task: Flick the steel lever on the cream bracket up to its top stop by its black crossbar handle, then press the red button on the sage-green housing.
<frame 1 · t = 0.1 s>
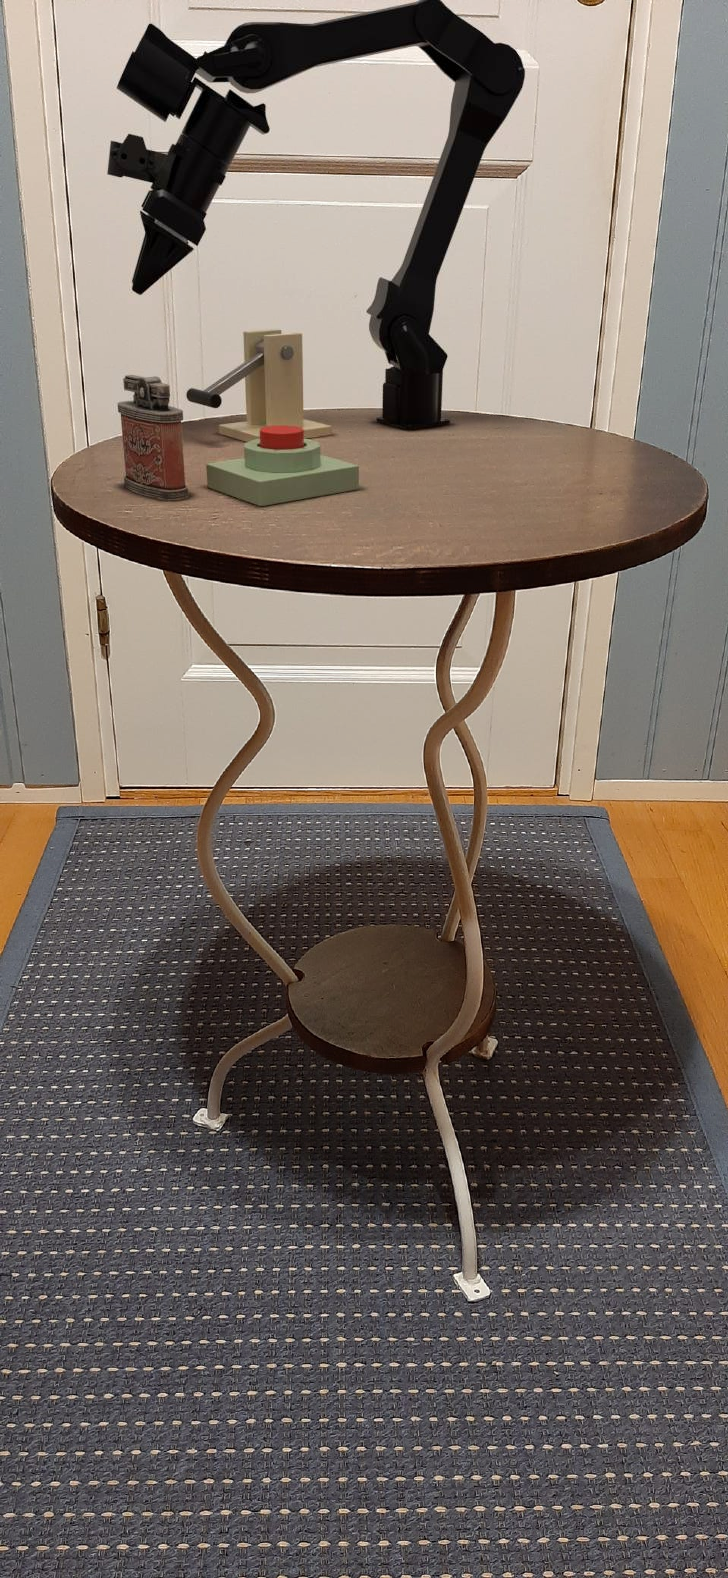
hand: (135, 288, 125), 15 cm above the table, tool tilted 30°, fingers open, 9 cm apart
button box: (283, 488, 107), on the table
lever: (241, 372, 125), point 7 cm above the table, hinge at -25.0°
lighter: (156, 493, 106), on the table
bracket: (275, 434, 130), on the table
button: (281, 439, 105), point 4 cm above the table, slide at 0.1 cm
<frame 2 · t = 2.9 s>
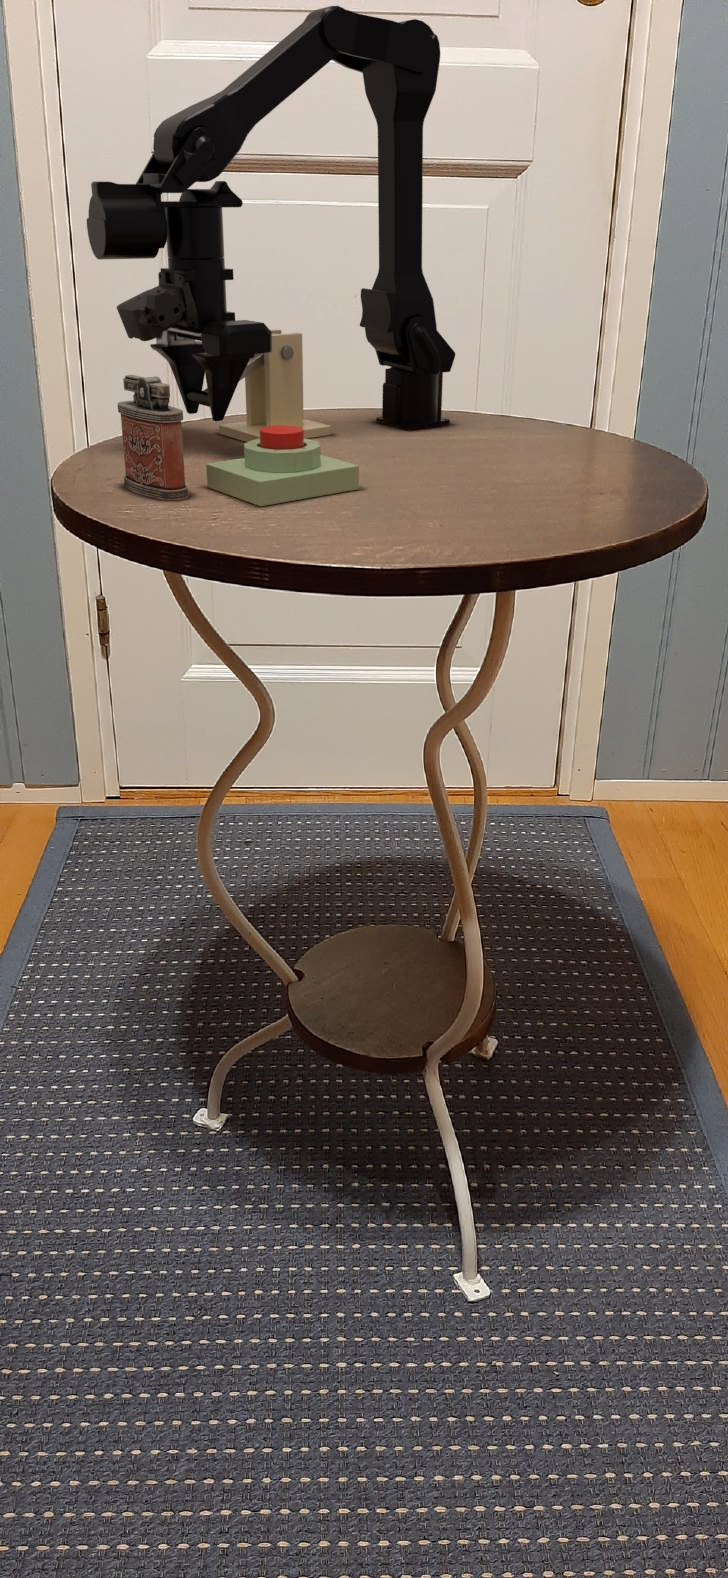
hand: (204, 416, 124), 3 cm above the table, tool pointing down, fingers closed on lever, 5 cm apart
lever: (241, 372, 125), point 7 cm above the table, hinge at -25.0°, touching gripper
everything else where it was.
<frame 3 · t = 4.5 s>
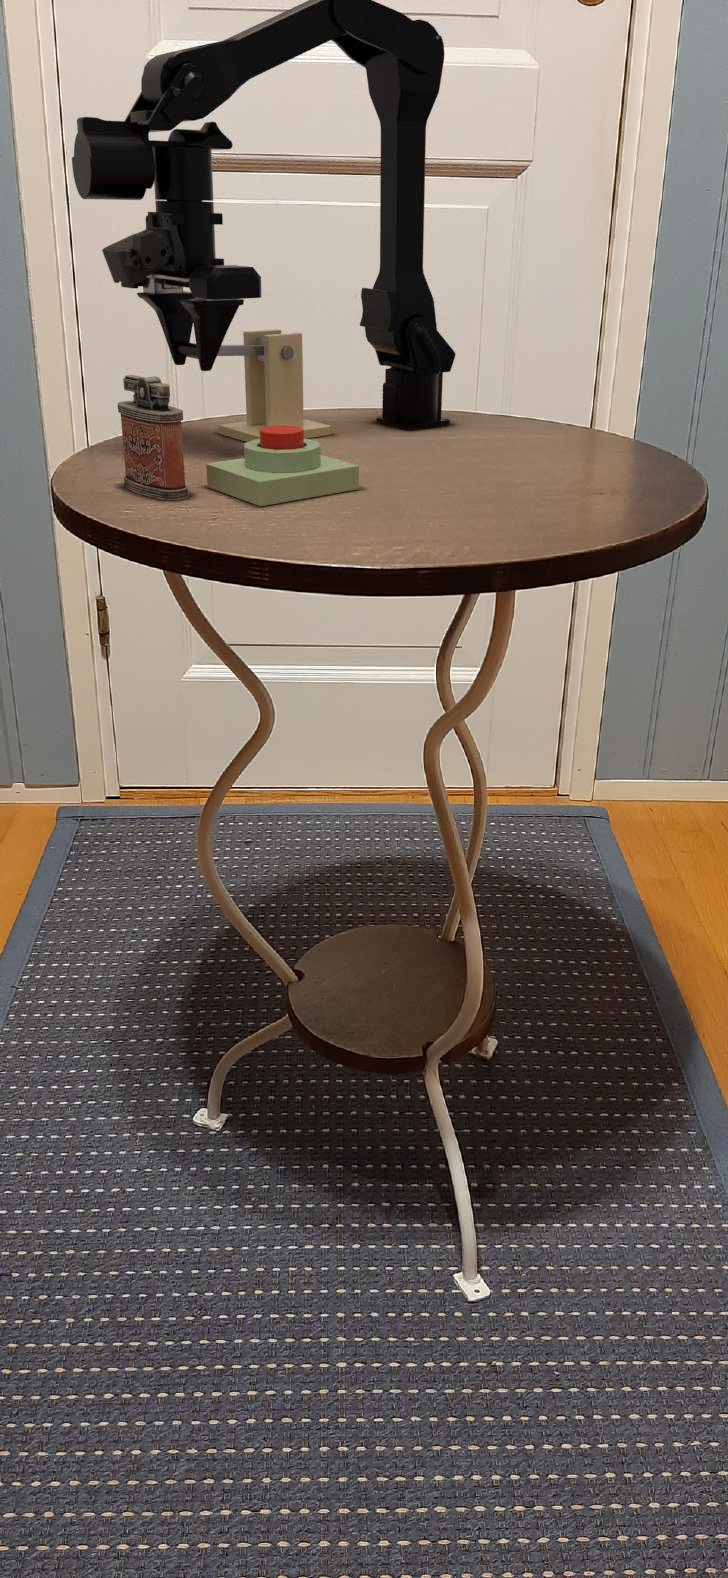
hand: (192, 367, 121), 8 cm above the table, tool pointing down, fingers closed on lever, 5 cm apart
lever: (236, 350, 123), point 9 cm above the table, hinge at 3.5°, touching gripper
everything else where it was.
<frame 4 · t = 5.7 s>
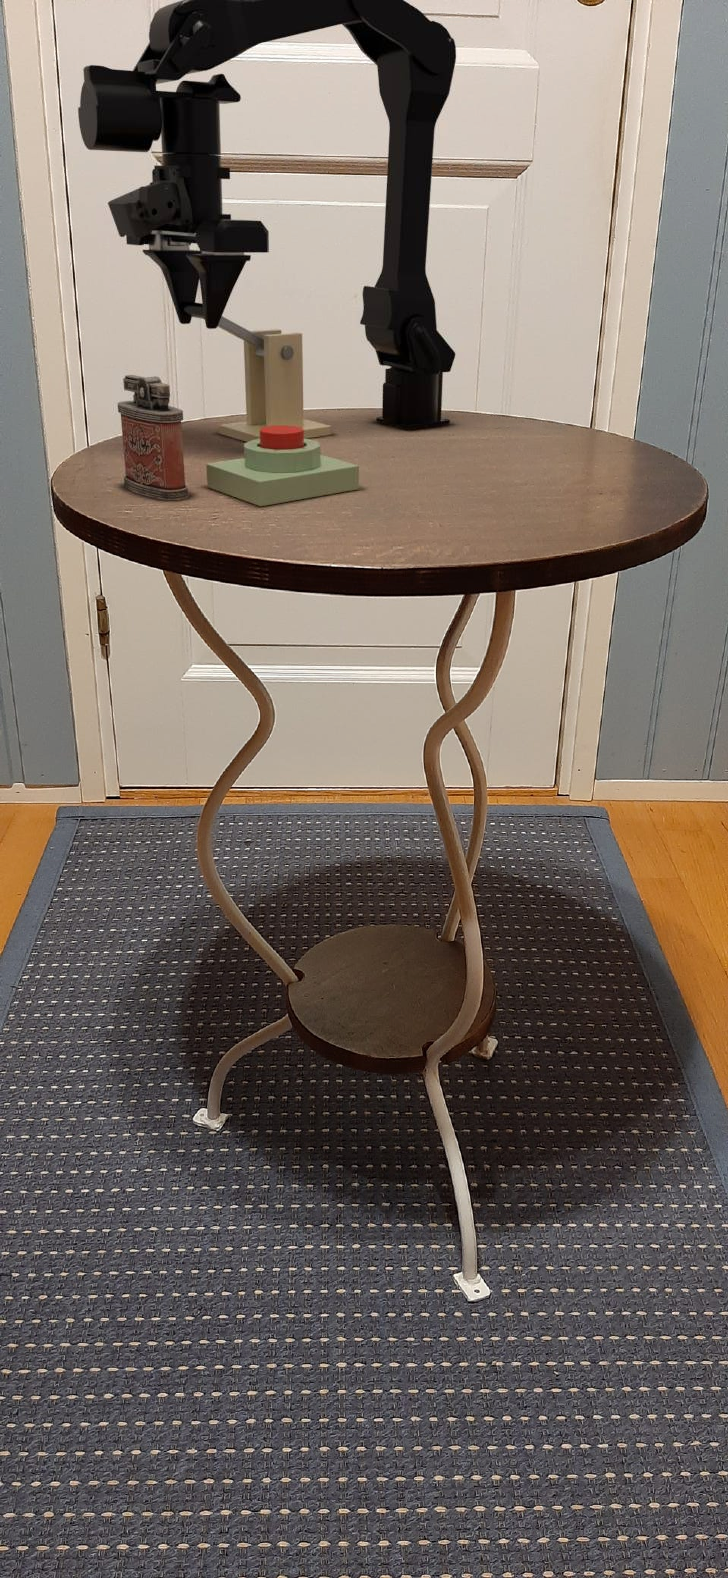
hand: (198, 326, 119), 12 cm above the table, tool pointing down, fingers closed on lever, 5 cm apart
lever: (240, 332, 123), point 11 cm above the table, hinge at 26.4°, touching gripper
everything else where it was.
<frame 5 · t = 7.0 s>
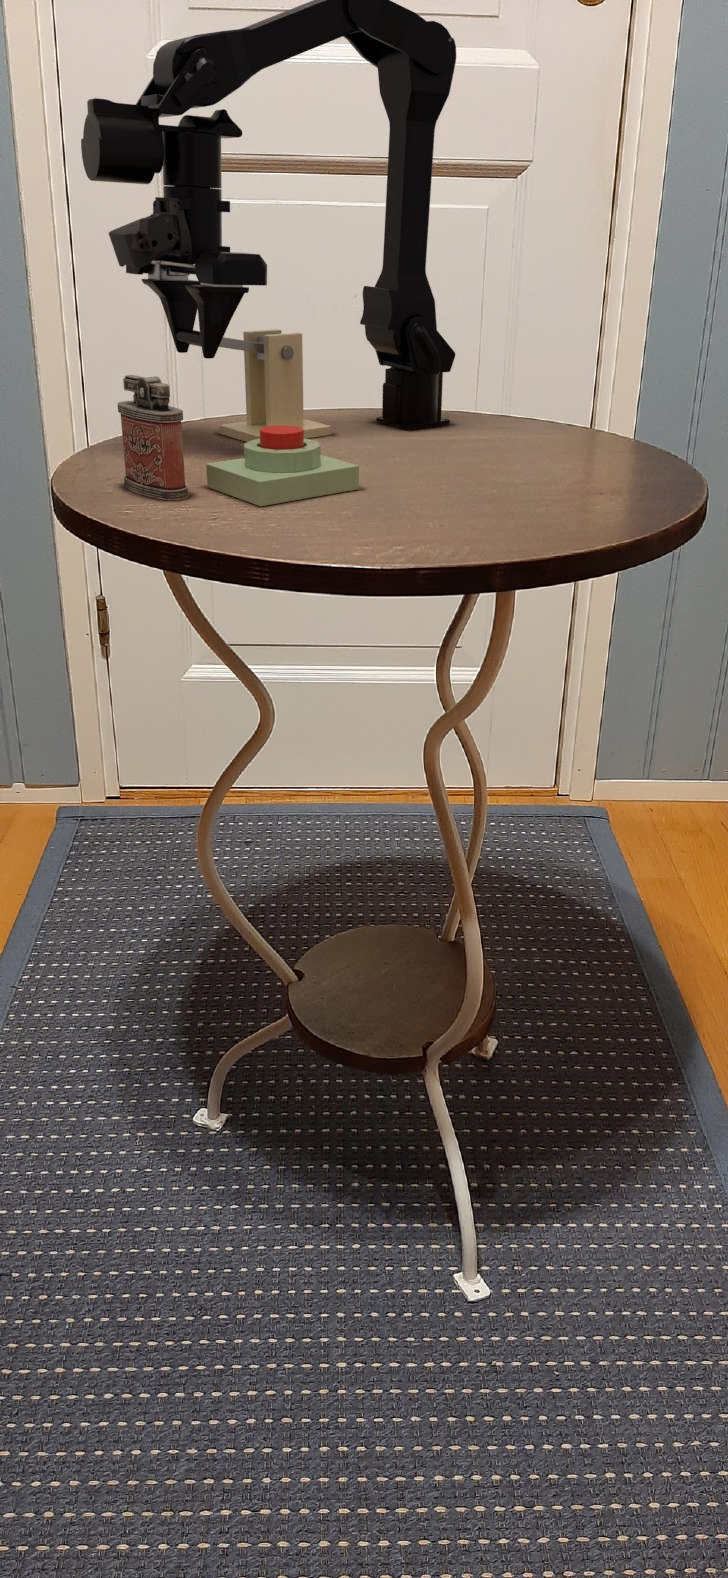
hand: (195, 355, 121), 9 cm above the table, tool pointing down, fingers closed on lever, 5 cm apart
lever: (237, 344, 123), point 10 cm above the table, hinge at 10.7°, touching gripper
everything else where it was.
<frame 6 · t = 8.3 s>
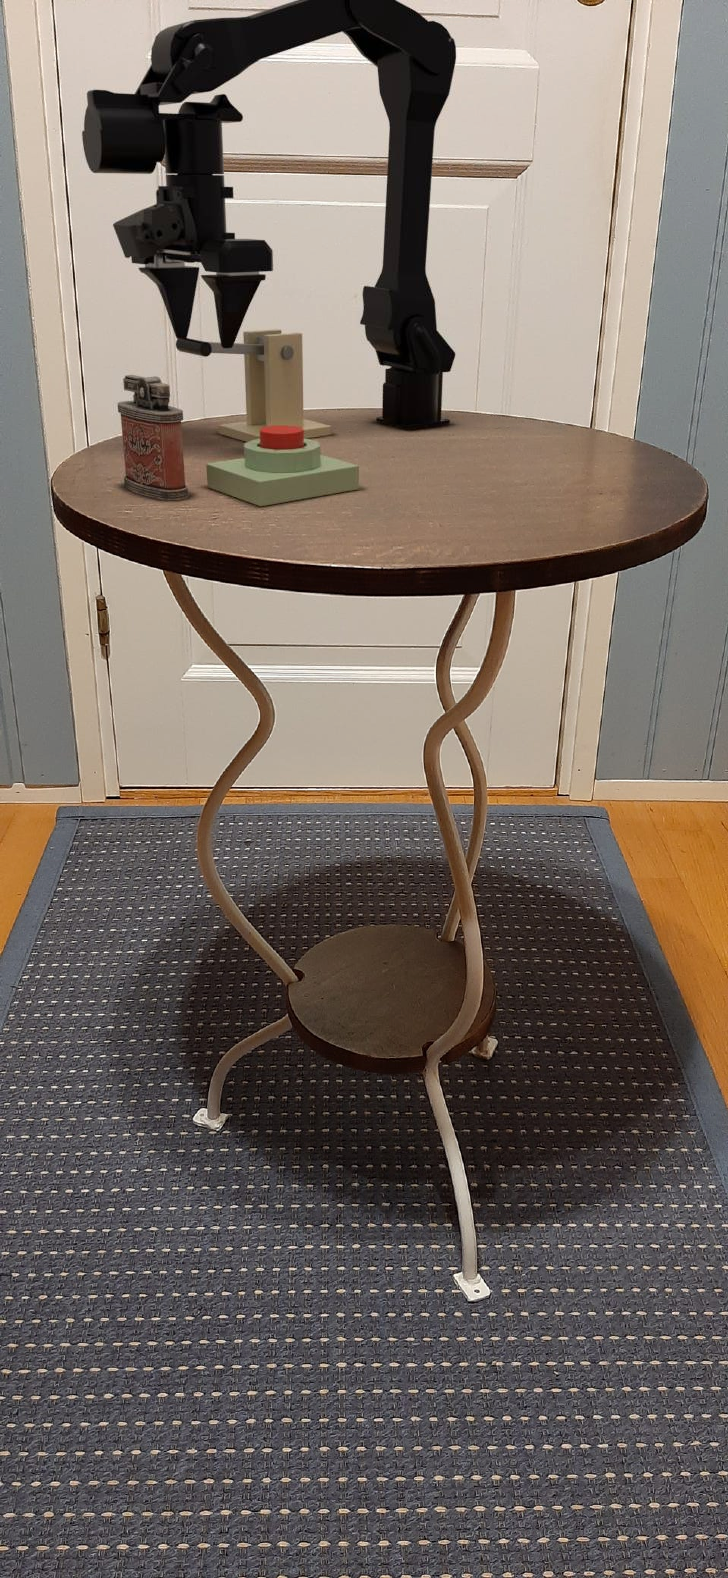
hand: (203, 343, 121), 10 cm above the table, tool pointing down, fingers open, 9 cm apart
lever: (236, 348, 123), point 9 cm above the table, hinge at 5.7°
everything else where it was.
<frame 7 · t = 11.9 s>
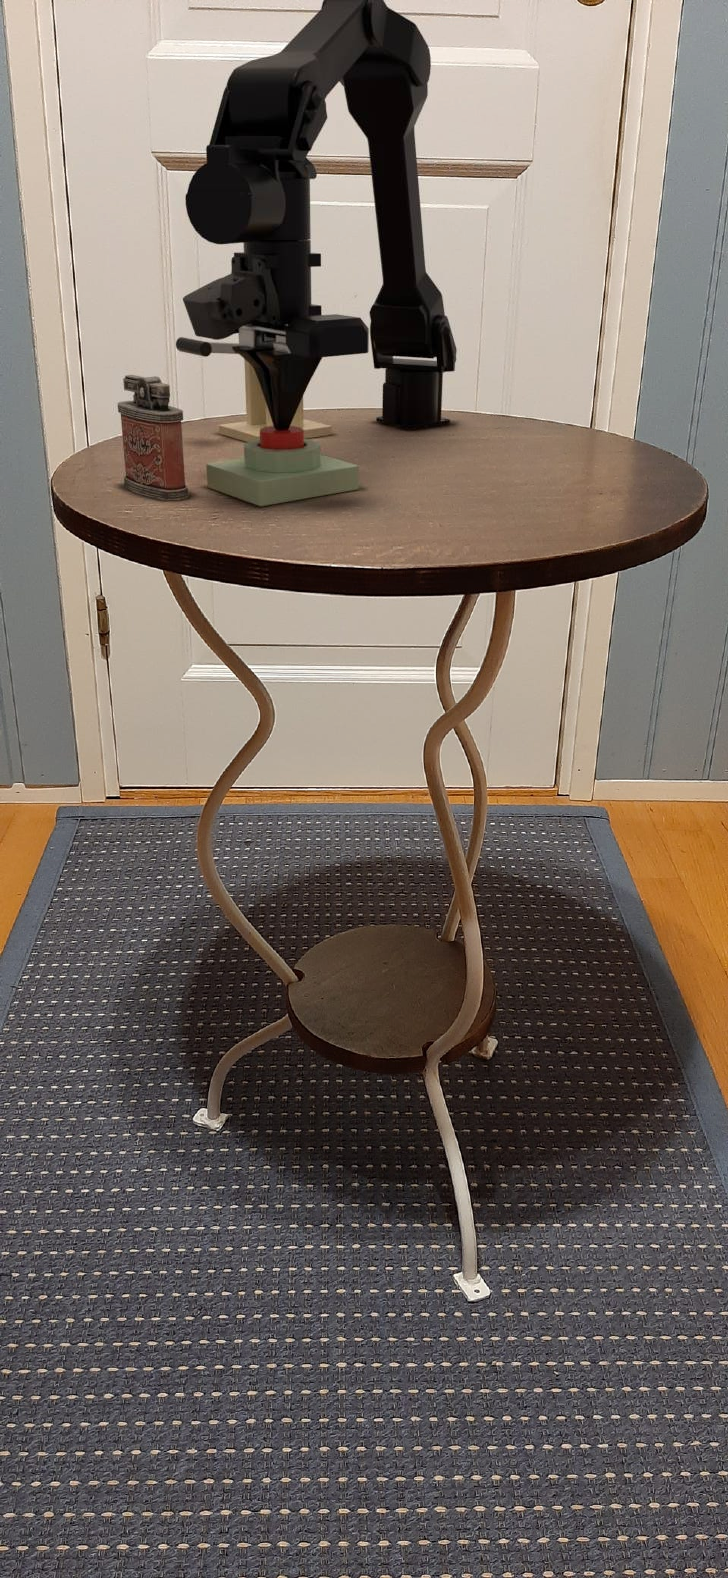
hand: (281, 429, 105), 5 cm above the table, tool pointing down, fingers closed, pressing on button
button: (281, 439, 105), point 4 cm above the table, slide at 0.1 cm, touching gripper
everything else where it was.
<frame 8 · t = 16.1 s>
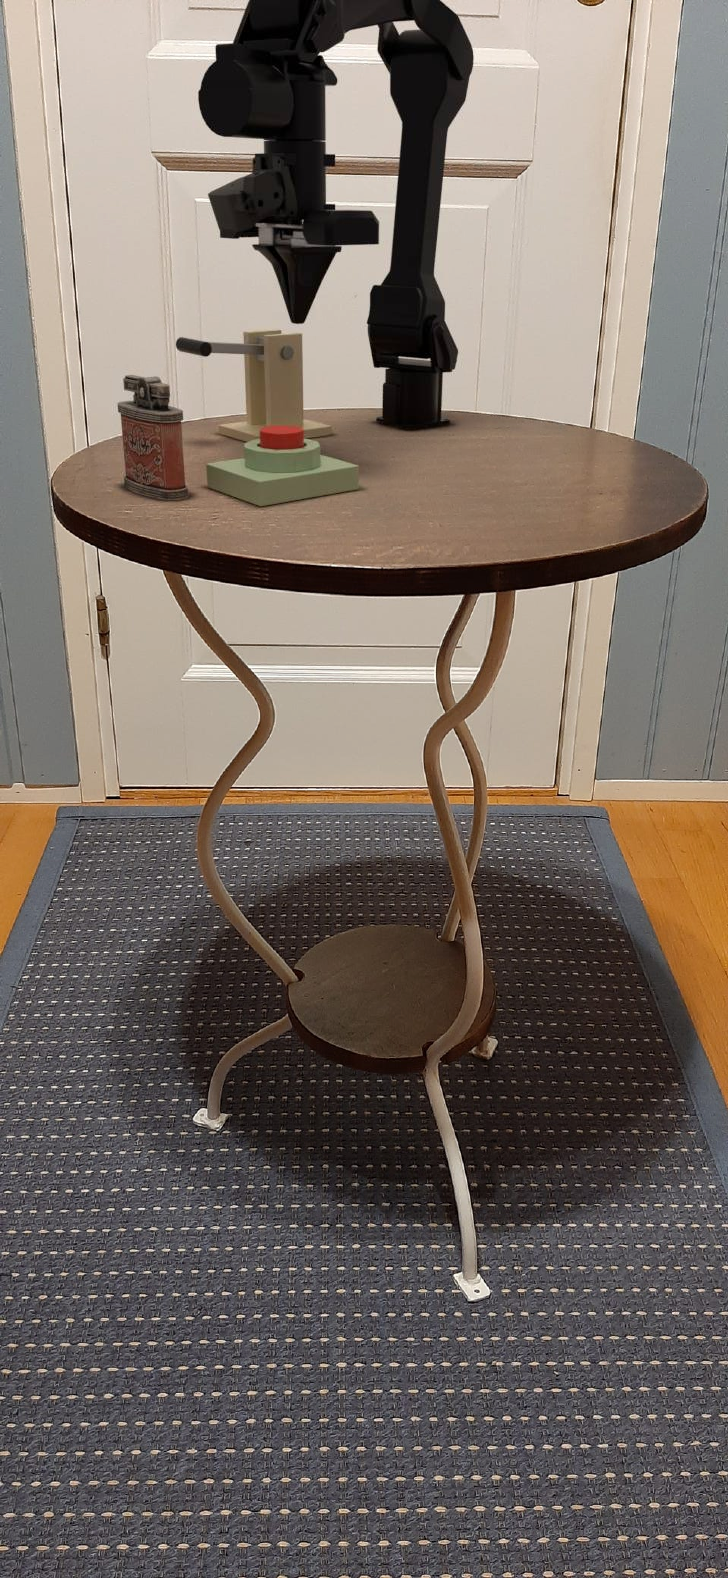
hand: (297, 323, 113), 13 cm above the table, tool pointing down, fingers closed
button: (281, 439, 105), point 4 cm above the table, slide at 0.1 cm
everything else where it was.
at the end: lever reached +26° during the clip, +6° at the end; button pushed in 1.1 cm at the most during the clip, back to where it started at the end; button slide at 0.1 cm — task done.
